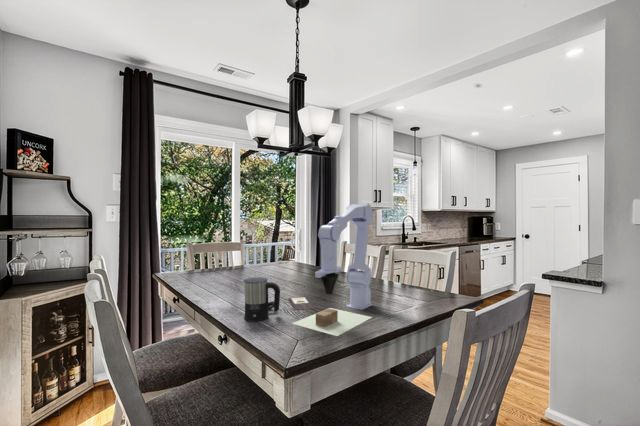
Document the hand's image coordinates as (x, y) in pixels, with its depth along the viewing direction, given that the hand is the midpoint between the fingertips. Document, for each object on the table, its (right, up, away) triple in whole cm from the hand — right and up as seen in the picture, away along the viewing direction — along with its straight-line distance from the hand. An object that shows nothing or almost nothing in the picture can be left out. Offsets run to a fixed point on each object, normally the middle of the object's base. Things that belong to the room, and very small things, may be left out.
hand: (329, 293), depth 122 cm
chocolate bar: (-12, -11, +22) cm, 27 cm away
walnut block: (+1, -8, 0) cm, 8 cm away
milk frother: (-27, -11, +8) cm, 30 cm away
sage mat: (+1, -10, 0) cm, 10 cm away
